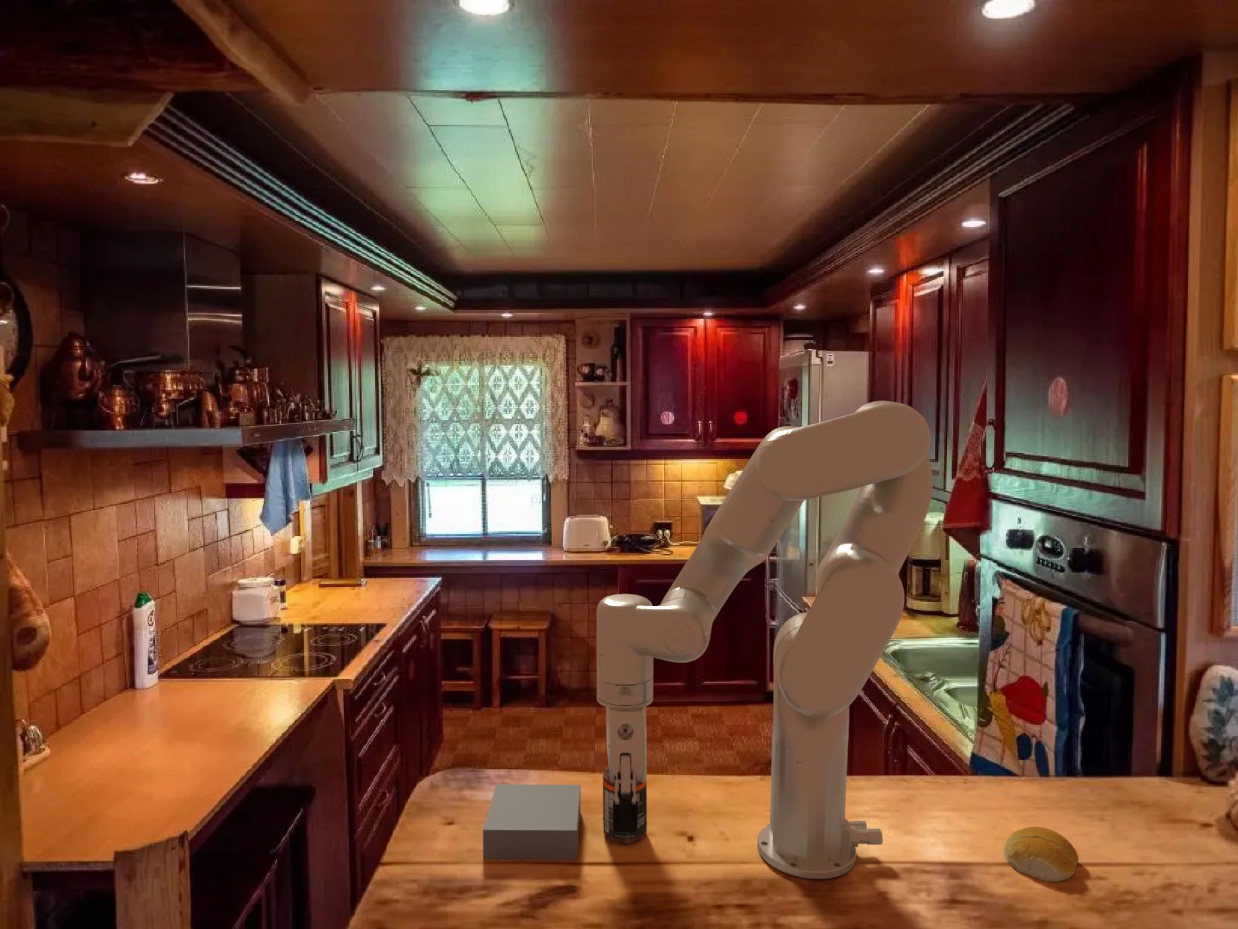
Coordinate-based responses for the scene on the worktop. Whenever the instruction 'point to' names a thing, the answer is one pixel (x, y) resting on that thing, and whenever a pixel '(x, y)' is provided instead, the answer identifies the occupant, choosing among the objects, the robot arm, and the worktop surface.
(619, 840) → the supplement bottle
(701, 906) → the worktop surface
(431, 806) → the worktop surface
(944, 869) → the worktop surface
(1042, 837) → the bread roll
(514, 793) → the pedestal
